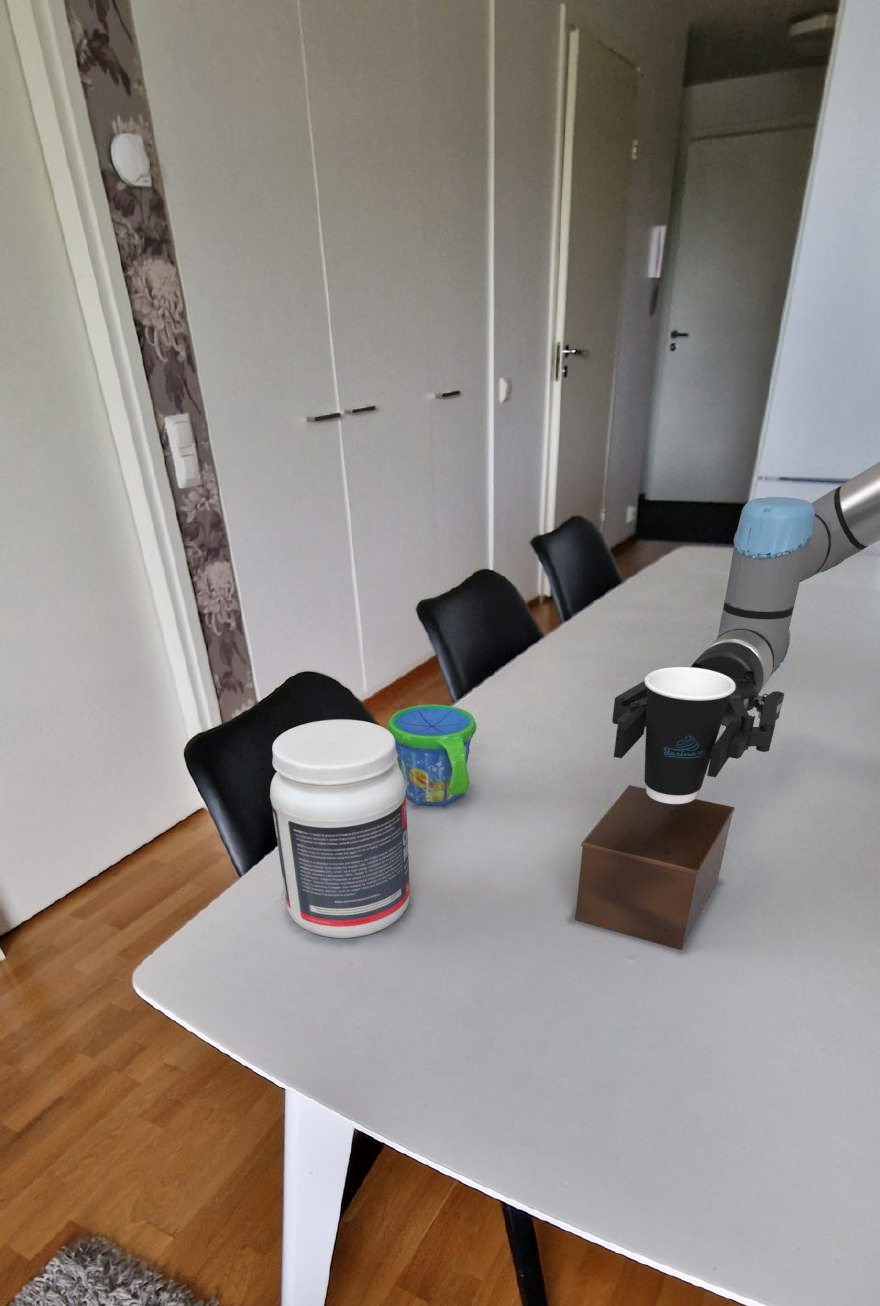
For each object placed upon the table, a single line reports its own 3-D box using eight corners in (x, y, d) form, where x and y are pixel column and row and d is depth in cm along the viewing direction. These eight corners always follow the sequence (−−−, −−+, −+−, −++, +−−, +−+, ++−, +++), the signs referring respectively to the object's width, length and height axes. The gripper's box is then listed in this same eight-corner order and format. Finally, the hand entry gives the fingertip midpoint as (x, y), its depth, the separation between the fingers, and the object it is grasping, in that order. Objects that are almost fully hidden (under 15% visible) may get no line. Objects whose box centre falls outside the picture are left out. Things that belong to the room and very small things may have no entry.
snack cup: (494, 814, 104) (496, 736, 98) (413, 829, 101) (410, 749, 95) (450, 765, 116) (450, 692, 110) (377, 776, 113) (373, 703, 107)
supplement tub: (436, 907, 88) (433, 740, 77) (341, 961, 80) (323, 785, 70) (355, 863, 95) (343, 705, 84) (262, 909, 88) (234, 742, 77)
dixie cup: (672, 768, 86) (690, 660, 80) (731, 798, 81) (755, 685, 74) (612, 787, 83) (626, 676, 76) (669, 819, 78) (689, 703, 71)
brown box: (718, 881, 91) (735, 807, 86) (682, 951, 81) (698, 871, 76) (619, 857, 96) (629, 784, 90) (573, 920, 86) (581, 842, 80)
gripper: (820, 726, 89) (776, 816, 73) (631, 694, 97) (554, 768, 81) (839, 655, 85) (797, 733, 69) (639, 627, 93) (560, 692, 77)
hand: (665, 752), depth 75 cm, fingers closed on dixie cup, 8 cm apart
